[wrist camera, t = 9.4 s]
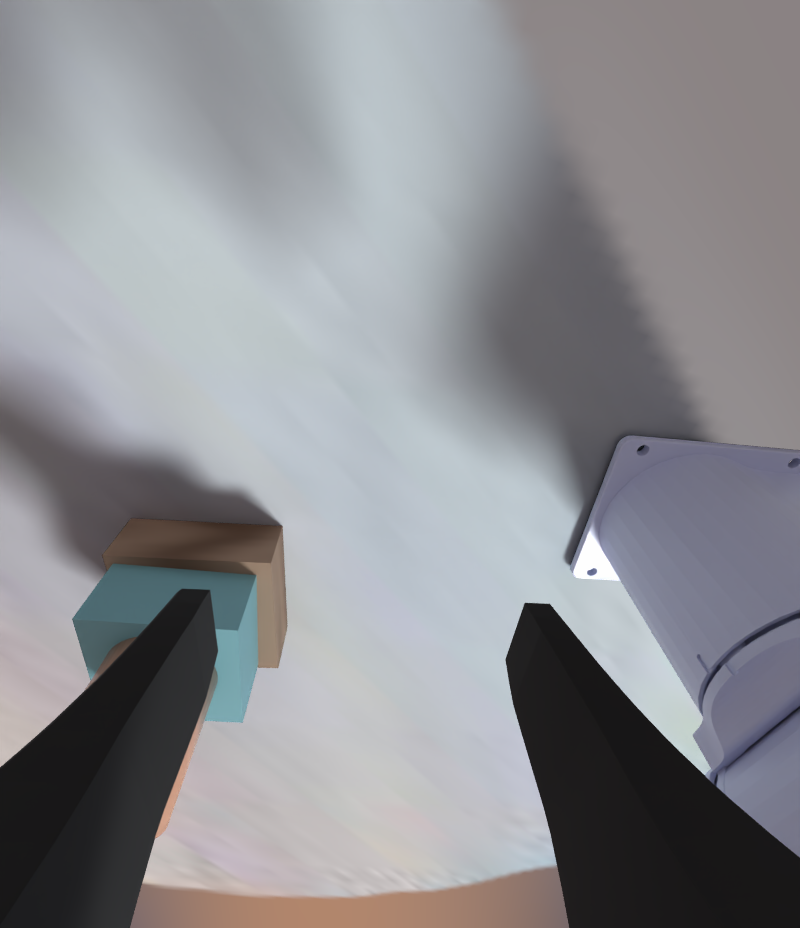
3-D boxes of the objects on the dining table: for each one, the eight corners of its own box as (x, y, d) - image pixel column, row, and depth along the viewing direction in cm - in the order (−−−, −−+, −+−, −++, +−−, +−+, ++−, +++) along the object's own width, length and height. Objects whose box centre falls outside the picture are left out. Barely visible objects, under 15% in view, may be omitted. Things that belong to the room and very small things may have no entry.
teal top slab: (256, 575, 20) (237, 630, 18) (258, 664, 23) (242, 722, 21) (113, 563, 20) (72, 618, 17) (133, 656, 23) (101, 715, 20)
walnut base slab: (284, 520, 23) (271, 563, 20) (288, 621, 26) (278, 668, 24) (135, 512, 22) (102, 555, 20) (159, 616, 26) (135, 663, 23)
